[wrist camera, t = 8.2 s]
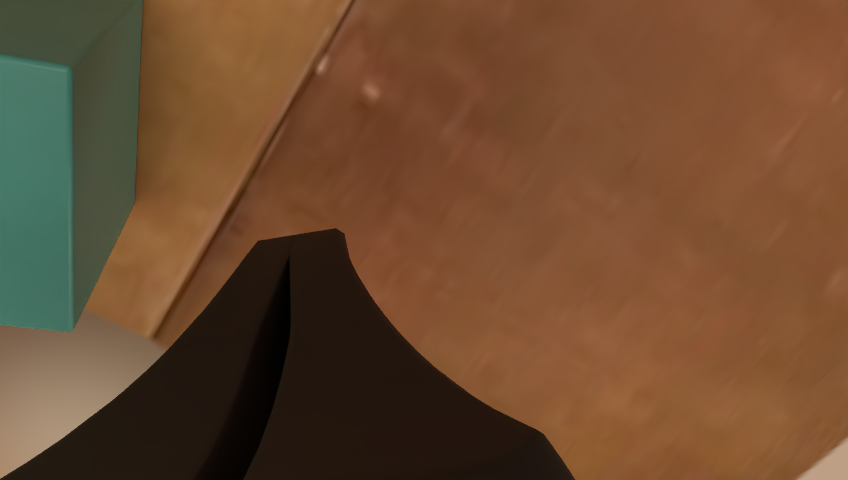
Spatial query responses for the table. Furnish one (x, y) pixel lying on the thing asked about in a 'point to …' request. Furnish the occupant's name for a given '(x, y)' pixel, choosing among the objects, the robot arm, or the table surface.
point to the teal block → (64, 151)
